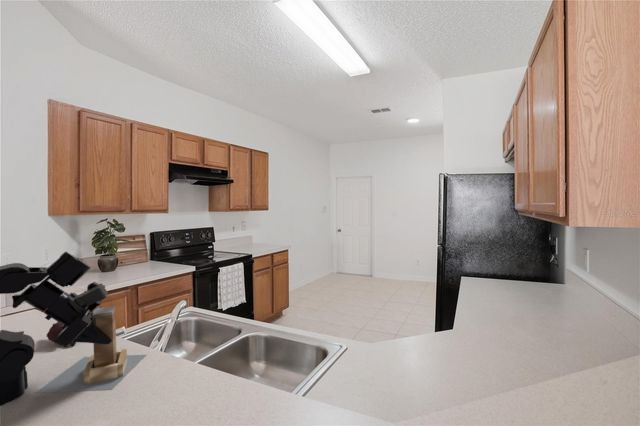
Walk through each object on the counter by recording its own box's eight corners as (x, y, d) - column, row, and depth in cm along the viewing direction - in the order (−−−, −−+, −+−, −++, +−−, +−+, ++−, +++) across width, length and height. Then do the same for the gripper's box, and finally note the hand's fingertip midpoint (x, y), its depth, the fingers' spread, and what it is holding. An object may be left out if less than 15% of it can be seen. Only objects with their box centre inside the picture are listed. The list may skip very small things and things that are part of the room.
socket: (83, 384, 73) (83, 372, 73) (91, 366, 81) (90, 355, 81) (123, 375, 77) (122, 364, 77) (127, 359, 85) (126, 348, 85)
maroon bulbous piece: (35, 321, 98) (53, 336, 90) (63, 309, 104) (82, 322, 96) (43, 339, 101) (61, 356, 92) (70, 326, 106) (89, 340, 98)
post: (94, 373, 76) (92, 314, 75) (98, 364, 80) (96, 308, 80) (114, 369, 78) (112, 311, 77) (116, 360, 82) (114, 305, 81)
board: (112, 393, 71) (112, 389, 71) (34, 397, 71) (34, 392, 70) (147, 358, 87) (147, 354, 87) (84, 360, 86) (84, 356, 86)
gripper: (73, 284, 68) (134, 325, 73) (91, 268, 84) (139, 302, 90) (27, 327, 65) (94, 366, 70) (55, 301, 81) (107, 334, 87)
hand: (111, 338), depth 79 cm, fingers closed on post, 5 cm apart
